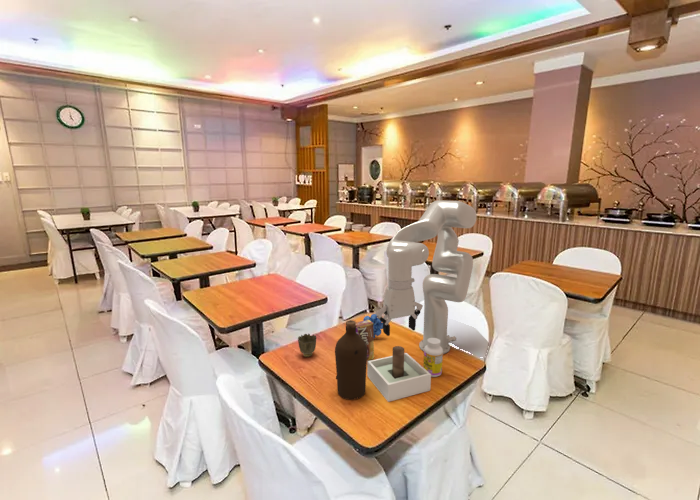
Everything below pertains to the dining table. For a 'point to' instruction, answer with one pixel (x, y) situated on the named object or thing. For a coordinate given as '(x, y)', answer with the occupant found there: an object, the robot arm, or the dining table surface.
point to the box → (400, 387)
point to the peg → (398, 362)
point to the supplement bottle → (433, 357)
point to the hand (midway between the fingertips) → (399, 331)
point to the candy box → (366, 336)
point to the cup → (307, 344)
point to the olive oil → (351, 363)
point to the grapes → (375, 324)
